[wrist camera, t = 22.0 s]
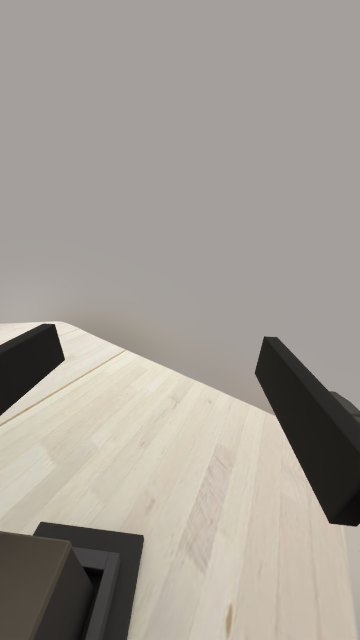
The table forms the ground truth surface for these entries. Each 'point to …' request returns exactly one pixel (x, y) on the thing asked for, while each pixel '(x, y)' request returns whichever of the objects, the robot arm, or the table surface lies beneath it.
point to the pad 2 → (104, 575)
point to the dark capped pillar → (42, 589)
